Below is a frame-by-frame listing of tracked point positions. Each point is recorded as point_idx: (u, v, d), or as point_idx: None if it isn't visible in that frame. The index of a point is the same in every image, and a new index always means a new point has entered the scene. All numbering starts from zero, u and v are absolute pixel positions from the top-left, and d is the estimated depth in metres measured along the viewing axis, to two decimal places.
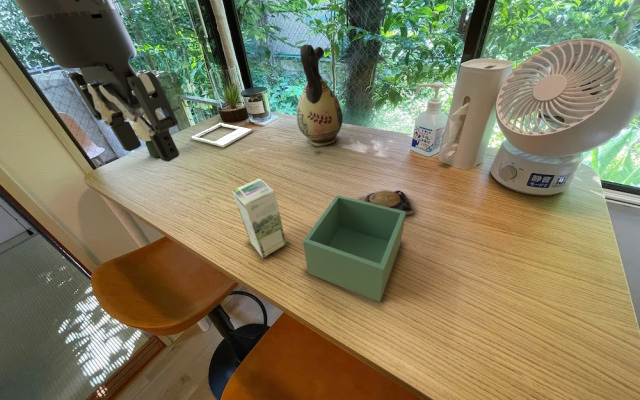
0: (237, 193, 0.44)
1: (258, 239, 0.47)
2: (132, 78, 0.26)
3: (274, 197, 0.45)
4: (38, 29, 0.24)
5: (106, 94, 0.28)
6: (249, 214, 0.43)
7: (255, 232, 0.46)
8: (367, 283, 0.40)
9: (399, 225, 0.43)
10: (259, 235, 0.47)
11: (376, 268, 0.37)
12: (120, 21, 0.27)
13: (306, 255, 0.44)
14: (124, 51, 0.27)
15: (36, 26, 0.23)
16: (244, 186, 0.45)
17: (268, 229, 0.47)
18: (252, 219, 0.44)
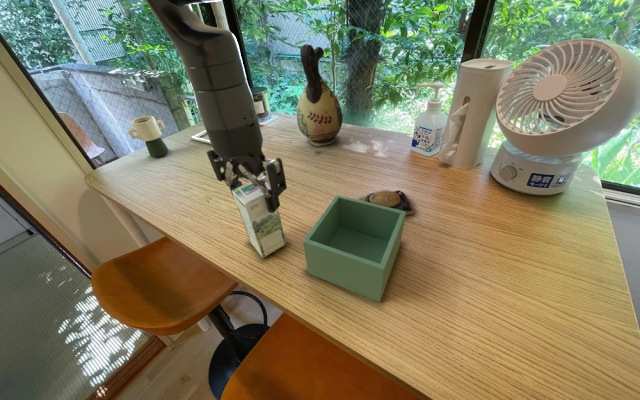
0: (237, 193, 0.44)
1: (258, 239, 0.47)
2: (271, 166, 0.37)
3: None
4: (215, 136, 0.35)
5: (243, 170, 0.39)
6: (249, 214, 0.43)
7: (255, 232, 0.46)
8: (367, 283, 0.40)
9: (399, 225, 0.43)
10: (258, 235, 0.47)
11: (376, 268, 0.37)
12: (258, 121, 0.38)
13: (306, 255, 0.44)
14: (260, 142, 0.38)
15: (214, 134, 0.34)
16: (244, 186, 0.46)
17: (268, 229, 0.47)
18: (252, 219, 0.44)
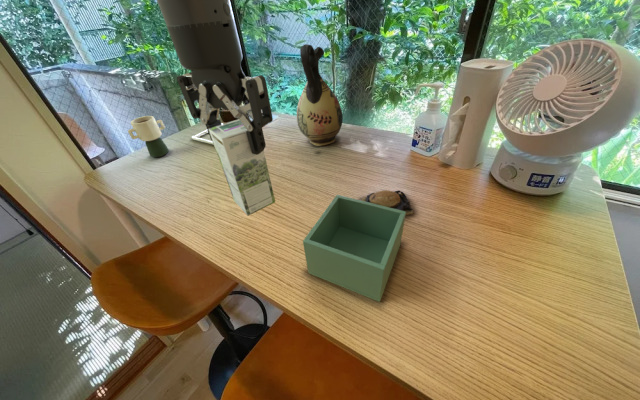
0: (214, 130, 0.37)
1: (240, 189, 0.40)
2: (251, 81, 0.30)
3: None
4: (179, 36, 0.27)
5: (218, 92, 0.32)
6: (228, 153, 0.36)
7: (236, 179, 0.39)
8: (367, 283, 0.40)
9: (399, 225, 0.43)
10: (241, 185, 0.40)
11: (376, 268, 0.37)
12: (236, 29, 0.31)
13: (306, 255, 0.44)
14: (238, 55, 0.31)
15: (178, 34, 0.27)
16: (224, 124, 0.38)
17: (252, 178, 0.40)
18: (232, 161, 0.37)
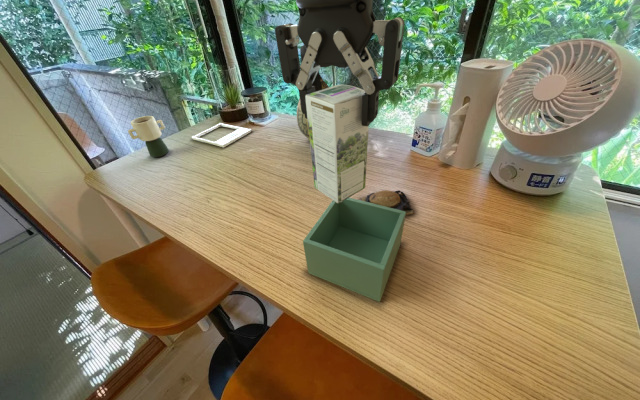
0: (316, 95, 0.30)
1: (338, 170, 0.33)
2: (396, 21, 0.23)
3: None
4: None
5: (341, 41, 0.25)
6: (336, 123, 0.29)
7: (337, 158, 0.32)
8: (367, 283, 0.40)
9: (399, 225, 0.43)
10: (340, 164, 0.33)
11: (376, 268, 0.37)
12: None
13: (306, 255, 0.44)
14: None
15: None
16: (323, 90, 0.31)
17: (352, 157, 0.33)
18: (338, 134, 0.30)
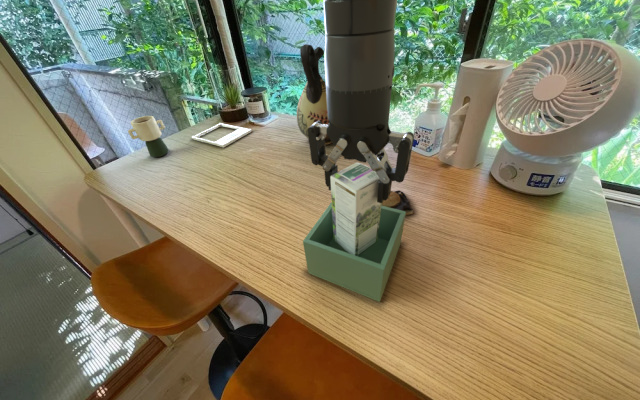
0: (340, 178, 0.36)
1: (357, 235, 0.39)
2: (408, 141, 0.29)
3: None
4: (348, 100, 0.27)
5: (363, 148, 0.32)
6: (357, 203, 0.35)
7: (356, 226, 0.38)
8: (367, 283, 0.40)
9: (399, 225, 0.43)
10: (358, 230, 0.39)
11: (376, 268, 0.37)
12: None
13: (306, 255, 0.44)
14: (389, 112, 0.30)
15: (347, 98, 0.27)
16: (344, 171, 0.38)
17: (368, 223, 0.40)
18: (358, 210, 0.36)
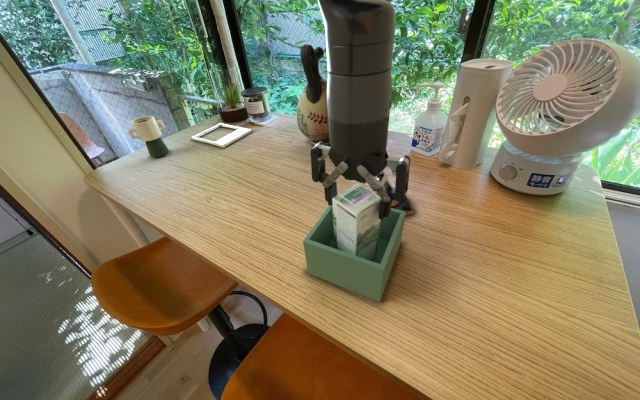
0: (341, 201, 0.39)
1: (357, 252, 0.42)
2: (404, 164, 0.31)
3: None
4: (349, 131, 0.29)
5: (363, 172, 0.34)
6: (357, 225, 0.38)
7: (357, 244, 0.41)
8: (367, 283, 0.40)
9: (399, 225, 0.43)
10: (358, 248, 0.42)
11: (376, 268, 0.37)
12: None
13: (306, 255, 0.44)
14: None
15: (348, 129, 0.29)
16: (346, 193, 0.40)
17: (367, 240, 0.42)
18: (358, 230, 0.39)
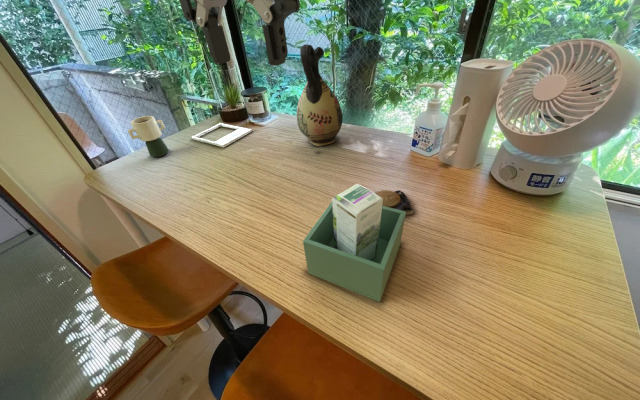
0: (341, 201, 0.39)
1: (357, 252, 0.42)
2: None
3: (381, 205, 0.40)
4: None
5: None
6: (357, 225, 0.38)
7: (357, 244, 0.41)
8: (367, 283, 0.40)
9: (399, 225, 0.43)
10: (358, 248, 0.42)
11: (376, 268, 0.37)
12: None
13: (306, 255, 0.44)
14: None
15: None
16: (345, 193, 0.40)
17: (367, 240, 0.42)
18: (358, 231, 0.39)
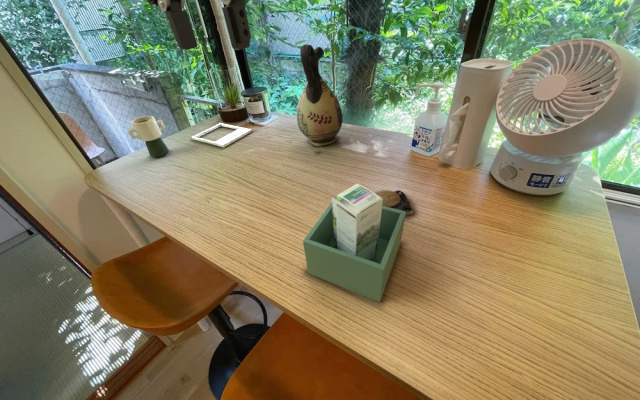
0: (341, 201, 0.39)
1: (357, 252, 0.42)
2: None
3: (381, 205, 0.40)
4: None
5: None
6: (357, 225, 0.38)
7: (357, 244, 0.41)
8: (367, 283, 0.40)
9: (399, 225, 0.43)
10: (358, 248, 0.42)
11: (376, 268, 0.37)
12: None
13: (306, 255, 0.44)
14: None
15: None
16: (345, 193, 0.40)
17: (367, 240, 0.42)
18: (358, 231, 0.39)
